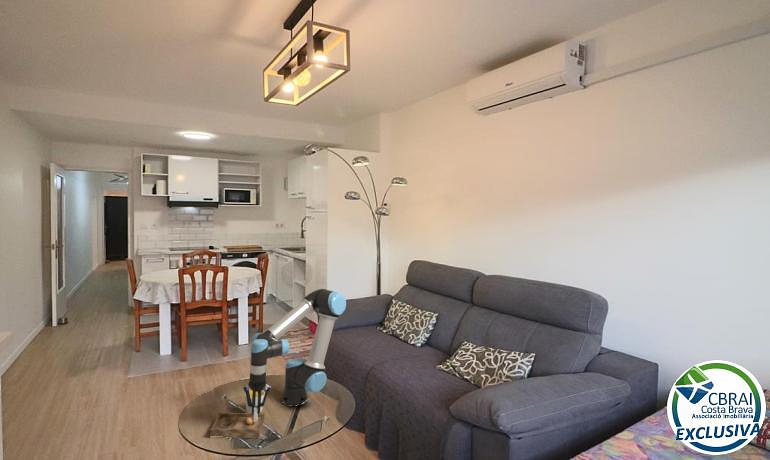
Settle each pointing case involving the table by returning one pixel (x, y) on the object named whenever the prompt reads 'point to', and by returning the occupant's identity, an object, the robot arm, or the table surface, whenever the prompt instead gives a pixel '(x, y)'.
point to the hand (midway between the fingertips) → (255, 420)
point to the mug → (249, 409)
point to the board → (237, 425)
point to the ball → (250, 420)
